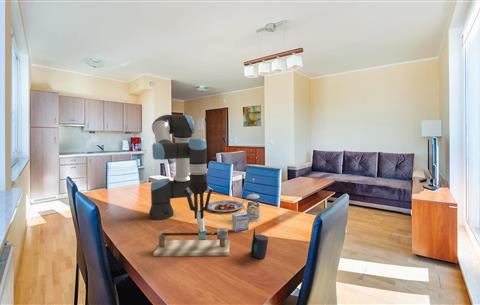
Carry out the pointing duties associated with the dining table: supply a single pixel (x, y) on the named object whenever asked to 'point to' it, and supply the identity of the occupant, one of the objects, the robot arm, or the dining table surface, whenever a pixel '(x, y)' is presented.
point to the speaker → (259, 246)
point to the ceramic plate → (224, 206)
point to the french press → (251, 215)
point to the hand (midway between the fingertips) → (199, 225)
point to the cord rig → (194, 245)
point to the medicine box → (240, 222)
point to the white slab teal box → (202, 230)
